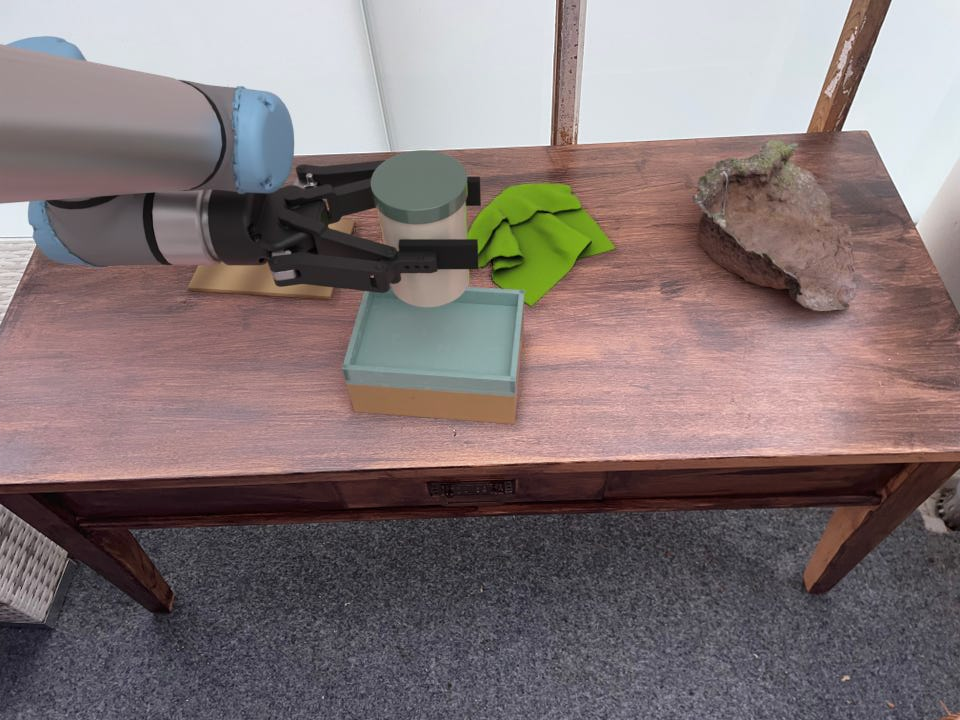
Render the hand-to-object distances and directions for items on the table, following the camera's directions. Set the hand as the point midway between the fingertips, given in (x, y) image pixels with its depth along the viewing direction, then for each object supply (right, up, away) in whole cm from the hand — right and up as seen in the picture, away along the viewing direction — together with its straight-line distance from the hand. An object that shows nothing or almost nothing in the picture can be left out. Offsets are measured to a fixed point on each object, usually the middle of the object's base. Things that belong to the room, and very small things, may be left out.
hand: (478, 221), depth 63 cm
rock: (+36, +1, +27) cm, 45 cm away
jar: (-5, -4, +6) cm, 8 cm away
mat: (-26, +1, +30) cm, 39 cm away
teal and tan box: (-4, -13, +17) cm, 22 cm away
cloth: (+6, +3, +30) cm, 31 cm away
